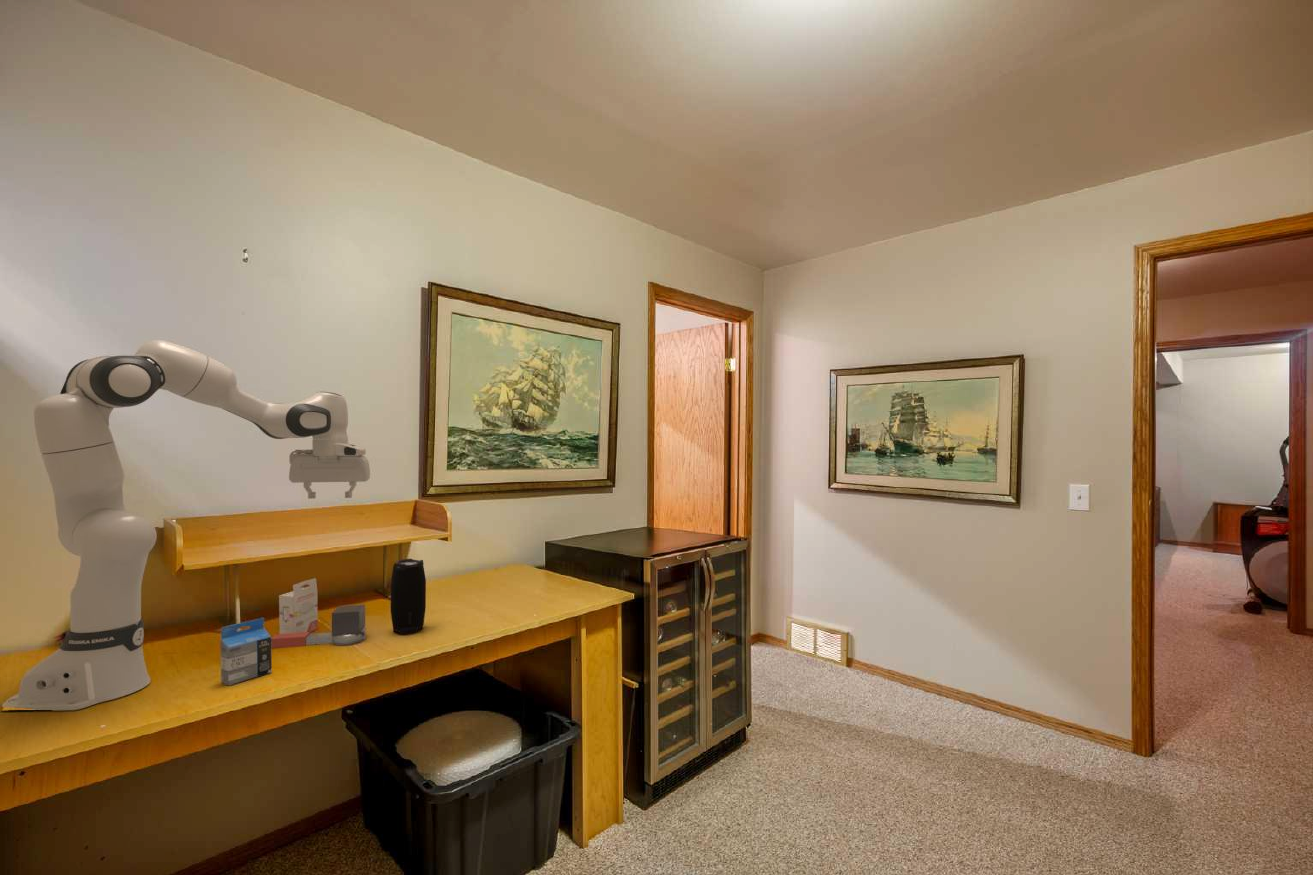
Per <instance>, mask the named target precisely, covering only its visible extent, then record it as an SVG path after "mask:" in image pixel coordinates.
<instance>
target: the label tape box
mask: <svg viewBox="0 0 1313 875" xmlns="http://www.w3.org/2000/svg"><path fill="white" fill-rule="evenodd" d="M264 626H265V617H260V618H256V619H252V620H247V621H243V622H239V623H235V624H230V625H227V626H222V627H221V628H220V682H221V683H222V684H223V685H226V686H233V685H236V684H238V683H241V682H244V681H247V680H251V679H254V678H258V677H260V676H265V675H267V674H270V673H272V672H273V671H272V670H273V669H272V667H273V666H272V665H273V664H272V659H273V658H272V657H273V656H272V648H271V638H272V636H271V634H269V632H268V631H267V630H266V628H265V627H264ZM242 627H245V629H242ZM247 627H249V628H247ZM238 629H241V630H238ZM237 630H238V631H237Z"/></svg>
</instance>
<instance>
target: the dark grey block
mask: <svg viewBox="0 0 1313 875" xmlns="http://www.w3.org/2000/svg"><path fill="white" fill-rule="evenodd" d="M364 627H365V628H366V604H353V605H352V604H351V605H348V604H347V605H338V606H337V608H335V609H334V610H333V611H332V612H331V632H332V636H341V635H355V634H360V633H361V631H362V630H363V629H364Z"/></svg>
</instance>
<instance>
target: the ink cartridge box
mask: <svg viewBox="0 0 1313 875" xmlns="http://www.w3.org/2000/svg"><path fill="white" fill-rule="evenodd" d="M305 585H306V586H307V587H304V586H305ZM292 589H293V590H292V591H290V592H286V593H284V594H283V593H282V594H280V595H278V606H279V608H278V610H279V611H278V612H279V613H278V616H279V617H278V619H279V620H278V621H279V623H278V624H279V634H289V633H304V632H310V633H313V632H314V631H316V630H318V628H319V626H318V620H319V619H318V618H319V617H318V615H319V614H318V609H319V608H318V586H317V578H315V577H314V578H311V579H308V580H307V579H306V580H304V581H302V582H301V581H300V582H299V583H295V584H293V585H292Z"/></svg>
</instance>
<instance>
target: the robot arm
mask: <svg viewBox="0 0 1313 875" xmlns="http://www.w3.org/2000/svg"><path fill="white" fill-rule="evenodd" d="M237 382H238V381H237V376H236V374H235V372H234V370H232V368H229V367H228V366H227V365H225V364H223V363H222V362H220V361H219V360H216V359H214V358H213V357H210V356H208V355H206V354H204V353H201V352H199V351H197V350H194V349H192V348H188V347H186V346H183V345H181V344H177V343H173V342H170V341H167V340H163V339H153V340H150V341H147V342H146V343H144V344H143V345H141V346H140V347H139V348H138V349H137V351H136V352H135V354H134V355H115V356H113V355H103V356H98V357H97V356H96V357H92V358H89V359H85V360H82V361H80V362H78V363H77V364H75V365H74V366H72V368H71V369H70V370H69V371H68V373H67V376H66V378H65V381H64V383H63V386H62V388H61V390H60V392H59V394H55V395H51V396H48V397H46V398H44V399H42V400H41V401H39V402H38V403H37V404H36V405H35V407H34V410H33V418H34V420H33V421H34V429H35V430H34V431H35V435H36V441H37V444H38V447H39V451H40V455H41V457H42V460H43V463H44V466H45V470H46V473H47V476H48V479H49V482H50V484H51V488H52V492H53V496H54V506H55V507H54V508H55V516H56V521H57V528H58V529H57V537H58V540H59V543H60V544H61V545H62V547H64V549H65V550H66V551H68V552H69V553H71V554H72V555H74V556H78V557H79V558H80V564H79V569H78V572H77V577H76V581H75V584H74V585H73V586H74V587H73V588H72V589H71V591H70V596H69V597H70V599H69V600H70V604H69V606H70V609H69V610H70V614H69V615H70V617H69V618H70V619H69V620H70V621H69V622H70V623H69V629H67V630H66V631H63V632H62V633H61V634H59V635H56V636H54V637H53V639H55V640H54V641H53V643H57V642H61V644H60V645H59V648H58V649H56V650H55V651H54V652H52V653H51V654H50V655H48V656H47V657H45V658H44V659H42V660H41V661H40V662H38V663H37V664H36V665H34V666H33V667H32V668H30V669H29V670H27V671H26V673H24V675H23V677H22V678H21V681H20V685H19V688H18V692H17V693H16V694H14V695H13V696H11V697H9V698H8V699H7V700H5V701H4V702H3V703H2V706H1V708H2V707H14V708H25V709H35V710H52V711H77V710H81V709H85V708H88V707H90V706H93V705H96V704H99V703H100V704H101V703H103V702H108V701H111V700H115V699H118V698H121V697H126V696H127V695H131V694H133V693H135V692H137V691H139V690H142V689H143V688H145V687H147V686H148V685H149V684H150V683H151V681H152V679H151V678H150V675H149V672H148V670H147V666H146V662H145V658H144V657H145V656H144V652H143V644H144V639H145V638H144V636H145V632H144V628H145V626H144V619H143V618H142V616H141V615H142V583H143V579H144V578H143V577H144V573H145V569H146V565H147V562H148V557H149V553H150V552H151V551H152V549H153V548H154V546H155V544H156V542H157V537H158V536H157V535H158V534H157V530H156V528H155V525H153V523H152V522H151V521H149V519H148V518H146V517H144V516H143V515H141V514H139V513H137V512H135V511H132V510H131V511H130V510H126V508H125V505H124V497H123V496H124V494H123V493H124V492H123V484H124V480H125V473H124V469H123V467H122V466H123V465H122V463H121V460H120V457H119V454H118V451H117V447H116V443H115V440H114V438H113V435H112V432H111V429H110V415H111V413H112V412H113V410H114V409H120V408H121V409H122V408H129V407H134V406H138V405H141V404H143V403H144V402H146V401H148V399H150V398H151V397H152V396H153V395H154V394H155V393H156V392H158V390H160V389H161V390H164V391H168V392H170V393H171V394H175V395H176V396H179V397H181V398H185V399H187V400H190V401H192V402H196V403H198V404H203V405H207V406H210V407H211V406H212V407H213V408H214V407H215V408H218V409H221V410H224V411H226V412H228V413H231V414H233V415H235V416H237V417H239V418H242V419H244V420H246V421H249V423H252V424H254V425H255V426H256V427H257V428H259V429H260V431H262V432H263V434H264V435H266V436H268V437H269V438H272V439H276V440H283V439H302V438H303V439H304V438H309V437H312V445H311V446H312V447H311V448H312V449H295V450H294V451H292V452H291V453H290V454H289V464H290V466H289V473H288V479H289V482H290V483H293V484H294V483H295V484H296V483H303V488H304V490H305V491H306V492H307V499H308V500H311V499H316V498H317V495H316V494H317V493H316V492H317V491H313V489H312V488H311V486H312V483H348V484H349V486H350V488H349V489H348V490H347V491H344V498H345V499H352V497H353V491H354V489H355V488H356V486H357V483H360V482H367V481H368V480H369V479H371V469H370V463H369V459H368V458H367V457H366V456H365V455H366V452H367V450H366V448H364V447H361V446H358V445H354V444H351V443H349V436H348V434H347V429H348V425H349V414H348V412H349V411H348V404H347V400H346V399H345V397H344V396H343V395H341V394H339V393H335V392H329V391H317V392H316V393H315V394H314V395H312V396H309V397H308V398H304V399H303V400H299V401H297V402H287V403H285V402H284V403H283V402H267V401H264V400H262V399H261V398H259V397H256V396H253V395H252V394H250V393H248V392H245V391H243V390H242V389H240V388H238V387H237V385H238V384H237ZM7 701H8V702H7ZM10 701H13V702H10ZM6 702H7V703H6Z"/></svg>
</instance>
